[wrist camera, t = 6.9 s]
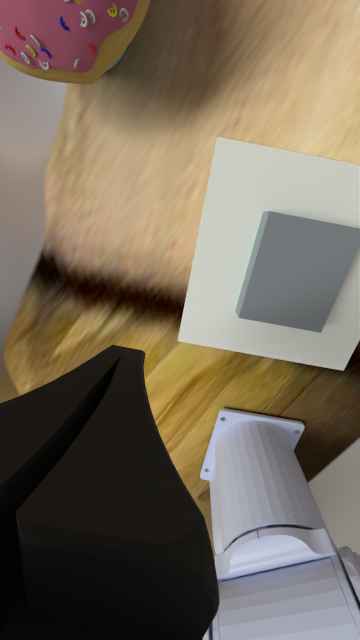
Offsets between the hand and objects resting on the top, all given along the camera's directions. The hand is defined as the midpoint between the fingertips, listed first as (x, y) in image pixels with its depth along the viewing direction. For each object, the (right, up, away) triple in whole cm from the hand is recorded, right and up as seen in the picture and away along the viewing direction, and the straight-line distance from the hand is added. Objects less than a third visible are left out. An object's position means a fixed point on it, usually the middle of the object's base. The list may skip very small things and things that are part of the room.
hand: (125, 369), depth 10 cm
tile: (+7, +6, +7) cm, 11 cm away
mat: (+10, +5, +8) cm, 14 cm away
